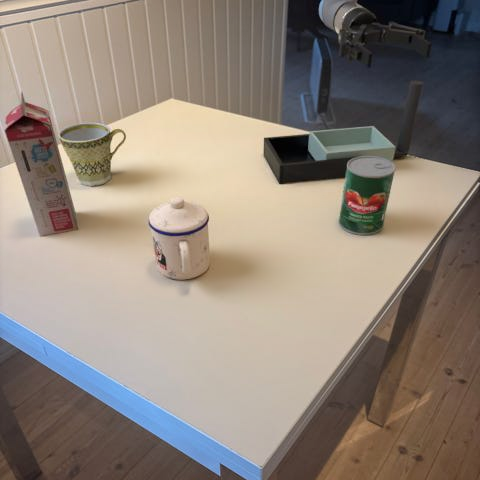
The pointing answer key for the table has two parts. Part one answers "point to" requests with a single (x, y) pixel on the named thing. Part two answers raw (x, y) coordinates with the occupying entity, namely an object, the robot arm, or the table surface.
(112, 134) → the ceramic cup
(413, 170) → the table surface
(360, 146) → the green tray with handle
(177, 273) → the teacup with lid
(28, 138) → the juice carton
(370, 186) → the canned tomato
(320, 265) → the table surface
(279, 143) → the frame
